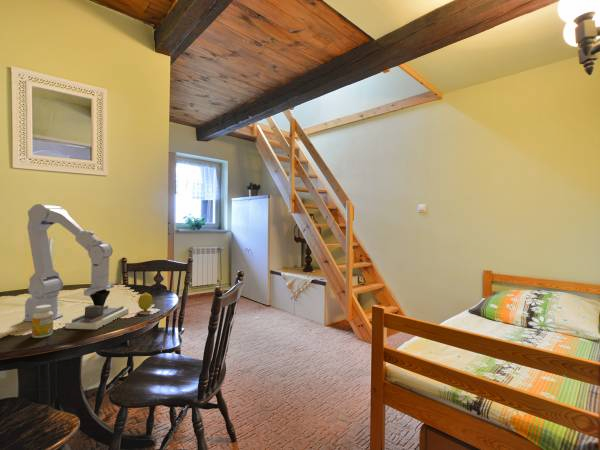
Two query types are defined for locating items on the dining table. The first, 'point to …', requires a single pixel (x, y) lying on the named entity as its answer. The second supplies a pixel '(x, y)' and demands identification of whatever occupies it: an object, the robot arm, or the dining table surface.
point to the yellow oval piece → (145, 301)
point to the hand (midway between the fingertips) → (99, 310)
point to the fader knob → (93, 311)
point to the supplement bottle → (42, 321)
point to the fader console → (97, 319)
